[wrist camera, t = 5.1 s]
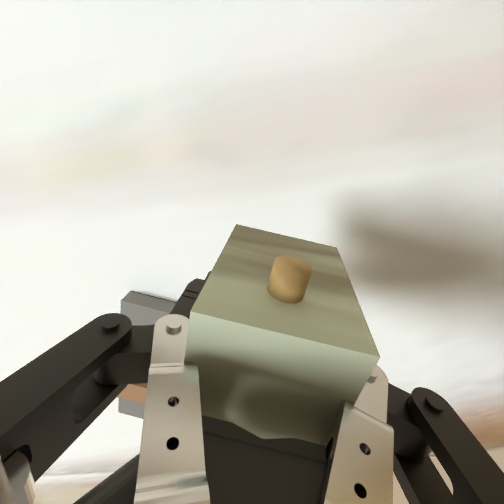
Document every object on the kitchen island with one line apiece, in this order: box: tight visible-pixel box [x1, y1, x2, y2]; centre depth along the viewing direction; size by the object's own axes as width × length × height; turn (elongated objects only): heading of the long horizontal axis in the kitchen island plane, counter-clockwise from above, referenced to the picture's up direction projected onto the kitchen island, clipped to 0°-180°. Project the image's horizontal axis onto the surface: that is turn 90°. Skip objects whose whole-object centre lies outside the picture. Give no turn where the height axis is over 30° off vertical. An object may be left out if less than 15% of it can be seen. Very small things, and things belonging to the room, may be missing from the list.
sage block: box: [184, 224, 380, 444], centre depth 11 cm, size 7×5×7 cm
